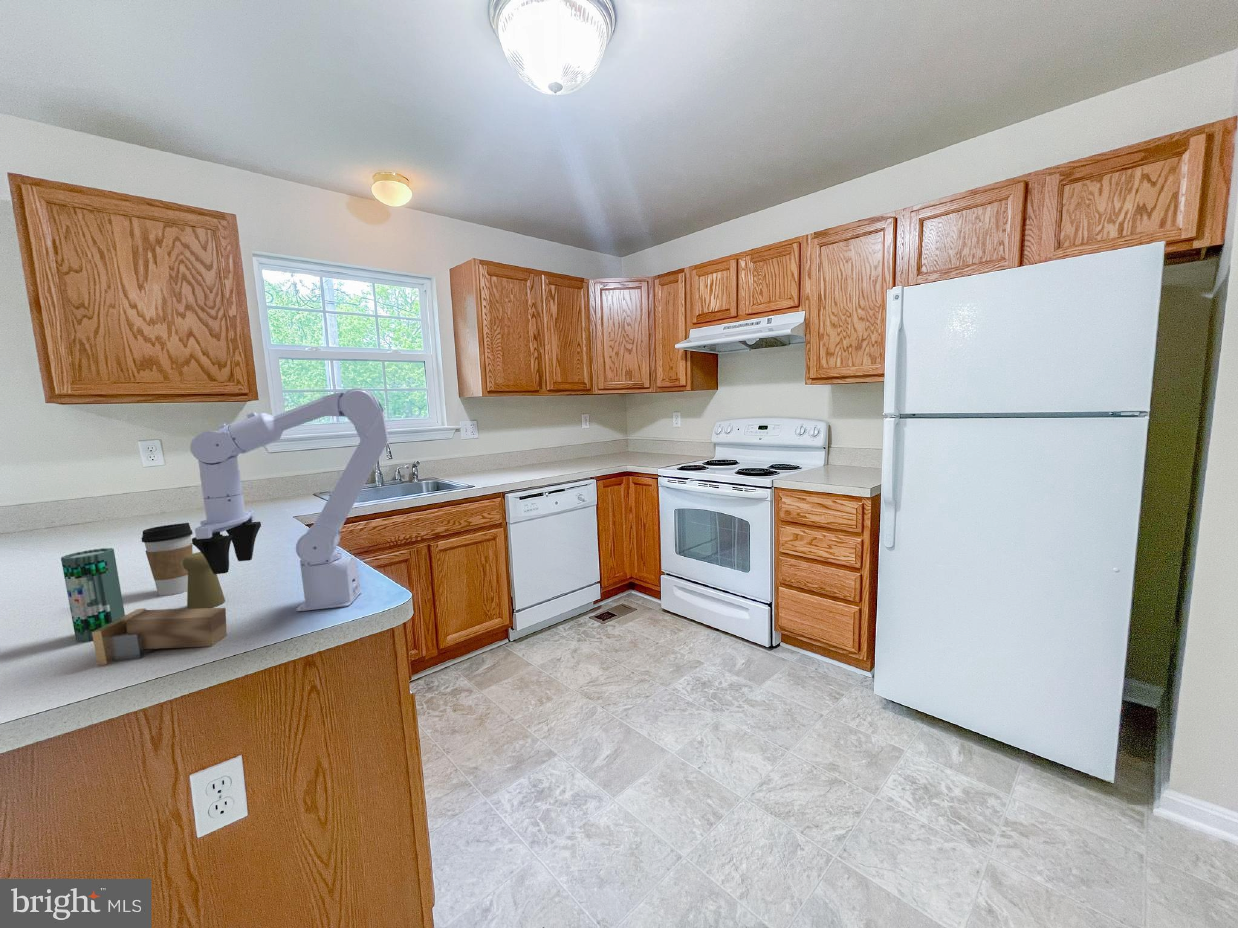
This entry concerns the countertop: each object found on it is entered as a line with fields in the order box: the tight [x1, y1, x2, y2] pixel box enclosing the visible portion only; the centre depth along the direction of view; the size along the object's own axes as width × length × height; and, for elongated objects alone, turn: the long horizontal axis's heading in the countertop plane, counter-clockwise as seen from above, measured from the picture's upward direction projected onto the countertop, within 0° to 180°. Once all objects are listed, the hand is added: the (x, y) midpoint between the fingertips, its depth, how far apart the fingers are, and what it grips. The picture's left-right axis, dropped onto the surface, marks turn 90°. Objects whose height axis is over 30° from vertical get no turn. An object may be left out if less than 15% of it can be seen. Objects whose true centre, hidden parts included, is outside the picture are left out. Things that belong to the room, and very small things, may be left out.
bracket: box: [92, 608, 157, 666], centre depth 81 cm, size 5×9×6 cm, turn 10°
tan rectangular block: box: [126, 607, 228, 650], centre depth 82 cm, size 12×4×5 cm, turn 100°
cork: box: [183, 551, 226, 609], centre depth 99 cm, size 6×6×11 cm
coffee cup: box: [141, 522, 194, 597], centre depth 109 cm, size 8×8×15 cm
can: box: [60, 547, 126, 643], centre depth 87 cm, size 6×6×15 cm
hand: (233, 566), depth 92 cm, fingers open, 7 cm apart
